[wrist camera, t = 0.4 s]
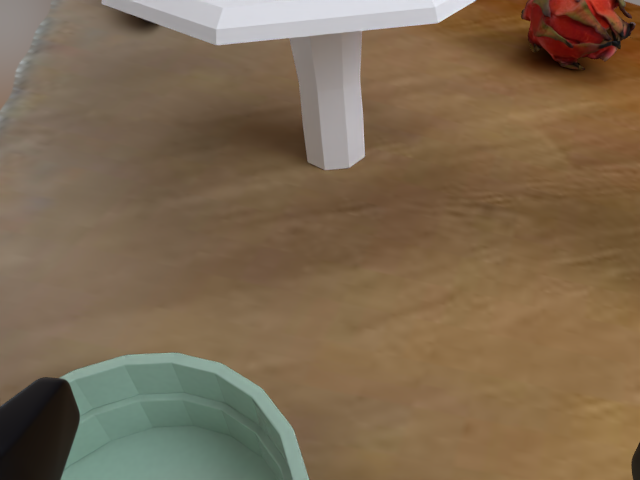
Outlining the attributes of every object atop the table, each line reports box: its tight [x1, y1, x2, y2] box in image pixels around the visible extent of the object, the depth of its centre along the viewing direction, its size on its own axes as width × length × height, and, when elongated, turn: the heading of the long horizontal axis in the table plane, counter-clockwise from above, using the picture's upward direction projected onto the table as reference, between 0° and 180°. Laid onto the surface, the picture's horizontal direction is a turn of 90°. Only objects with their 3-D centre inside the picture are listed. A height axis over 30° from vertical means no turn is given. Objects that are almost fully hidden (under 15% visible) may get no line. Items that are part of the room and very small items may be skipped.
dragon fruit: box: [521, 0, 636, 70], centre depth 55 cm, size 8×8×12 cm
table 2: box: [102, 0, 476, 170], centre depth 42 cm, size 28×28×17 cm
